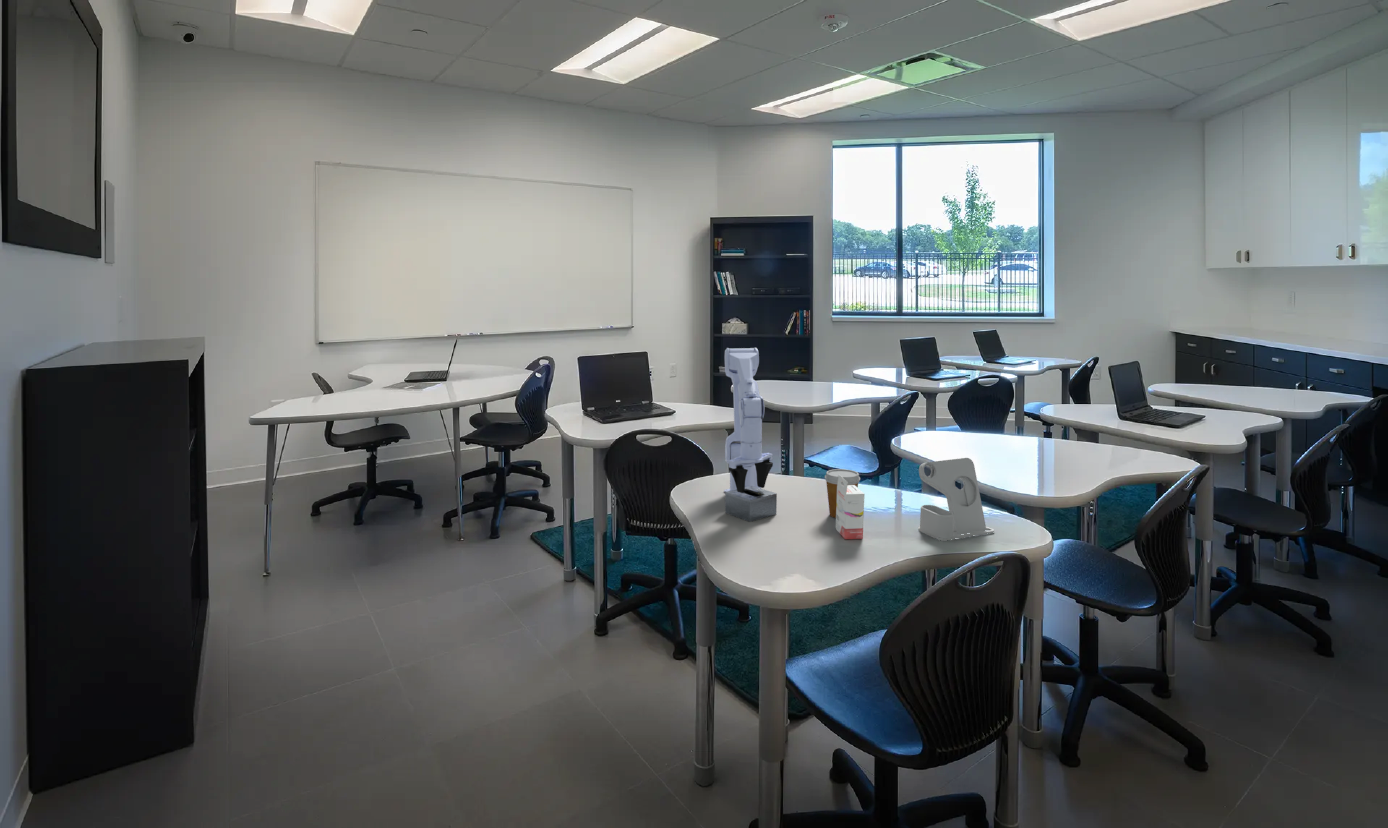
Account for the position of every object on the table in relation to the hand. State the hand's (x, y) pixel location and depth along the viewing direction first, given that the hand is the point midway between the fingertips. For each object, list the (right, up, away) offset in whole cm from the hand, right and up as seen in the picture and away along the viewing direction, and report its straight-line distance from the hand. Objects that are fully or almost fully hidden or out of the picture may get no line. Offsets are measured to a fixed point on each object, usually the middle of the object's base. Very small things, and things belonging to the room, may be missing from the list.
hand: (750, 489), depth 196 cm
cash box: (0, -7, +1) cm, 7 cm away
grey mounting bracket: (+51, -9, -14) cm, 54 cm away
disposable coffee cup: (+25, -7, -1) cm, 26 cm away
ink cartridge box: (+24, -10, -15) cm, 30 cm away
